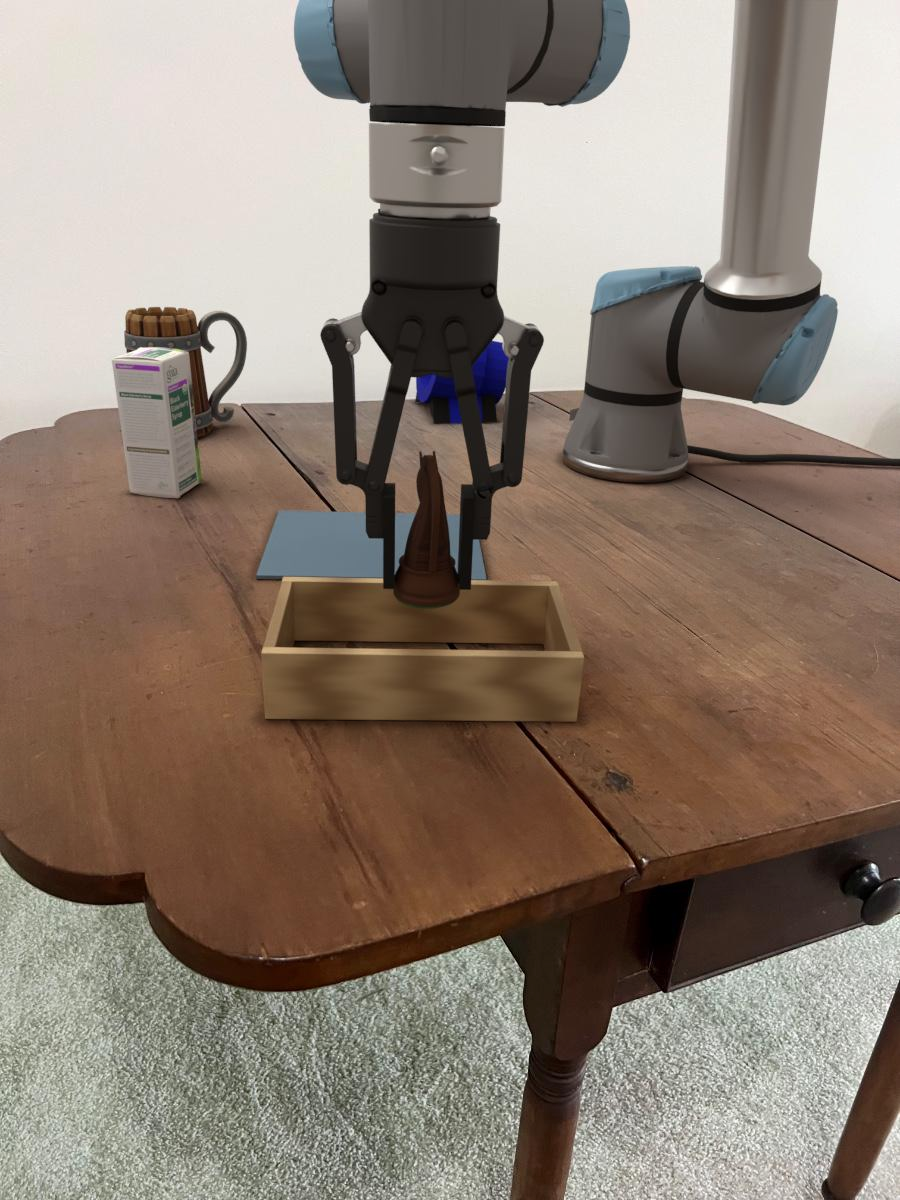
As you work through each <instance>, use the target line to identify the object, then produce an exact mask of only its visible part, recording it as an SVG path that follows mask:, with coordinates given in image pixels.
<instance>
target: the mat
mask: <svg viewBox="0 0 900 1200" xmlns="http://www.w3.org/2000/svg"><path fill="white" fill-rule="evenodd" d="M415 515H416V512H415V513H413V512H395V574H396V571H397V569H398V567H399V558H400V557H401V556H402V555H404V553H405V547H406V542H407V538H408V534H409V531H410V528H411V525H412V522H413V520H414V517H415ZM446 515H447V521H448V528H449V538H450V555H451V556H452V557H453V558H454V559H455V569H456V571H457V573H458V551H459V525H460V513H458V514H455V513H446ZM263 551H264V552H263V553H262V557H261V561H260V562H259V566H258V568H257V570H256V571H257V572H256V574H255V579H256V580H278V581H279V580H281V581H282V579H283V577H328V578H383V539H379V538H368V535H367V533H366V511H365V512H363V511H325V510H324V511H323V510H322V511H321V510H319V511H318V510H283V509H282V510H280V509H279V510H278V511H277V515H276V518H275V521H274V523H273V526H272V529H271V532H270V534H269V537H268V540H267V542H266V546H265V548H264V550H263ZM471 580H488V579H487V575H486V569H485V564H484V559H483V554H482V548H481V543H480V540H473V554H472V575H471Z"/></svg>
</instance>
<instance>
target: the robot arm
mask: <svg viewBox="0 0 900 1200" xmlns="http://www.w3.org/2000/svg"><path fill="white" fill-rule="evenodd" d="M838 4H839V0H734V10H733V11H734V13H733V28H732V29H733V31H732V46H731V47H732V48H731V65H730V83H729V97H728V98H729V101H728V115H727V133H726V134H727V135H726V151H725V167H724V168H725V169H724V183H723V184H724V187H723V202H722V203H723V205H722V219H721V220H722V221H721V222H722V223H721V239H720V253H719V254H720V255H719V260H718V261H717V262H716V263H714V264H713V265H712V266H711V267H710V268H709V269H708V270H707V271H706V272H705V274H704V277H703V275H702V270H701V268H700V267H699V266H692V265H691V266H688V265H687V266H686V265H685V266H682V265H681V266H658V267H656V266H655V267H642V268H629V269H619V270H618V269H617V270H612V271H608V272H605V273H604V274H603V275H601V276H600V277H599V278H598V280H597V282H596V285H595V289H594V295H593V299H592V300H593V301H592V305H591V309H590V312H589V314H590V315H591V316H590V328H589V337H588V346H587V356H586V366H585V367H586V368H585V377H584V378H585V379H584V389H583V396H582V400H581V402H580V405H579V407H577V408H573V409H570V410H569V419H568V422H571V421H572V423H571V425H570V427H569V430H568V433H567V435H566V437H565V439H564V443H563V446H562V457H561V458H562V459H561V460H562V461H563V463H564V464H565V465H566V466H567V467H569V468H570V469H572V470H574V471H576V472H579V473H581V474H585V475H587V476H591V477H595V478H599V479H603V480H610V481H615V482H616V481H617V482H625V483H626V482H627V483H658V482H665V481H670V480H671V481H672V480H674V479H678V478H679V477H681V476H683V475H685V474H686V472H687V469H688V465H689V455H691V454H692V455H696V456H702V457H709V458H715V459H718V460H724V461H728V462H733V463H734V462H736V463H747V464H748V463H753V464H757V463H812V464H814V463H815V464H831V465H832V464H833V465H849V466H851V465H852V466H874V467H900V458H892V457H891V458H890V457H889V458H887V457H864V456H862V457H861V456H841V455H825V454H805V453H771V454H769V453H768V454H741V453H732V452H728V451H722V450H718V449H713V448H707V447H701V446H695V445H689V444H688V442H687V436H686V431H685V425H684V419H683V413H682V399H683V393H684V390H687V391H688V390H689V391H692V392H693V391H694V392H699V393H704V394H710V395H714V396H715V395H716V396H720V397H724V398H725V397H726V398H731V399H736V400H742V401H746V402H751V404H754V405H757V404H759V403H760V404H766V405H767V404H768V405H776V406H783V407H784V406H790V405H792V404H795V403H796V402H798V401H799V400H800V399H802V397H803V396H804V395H805V394H806V393H807V391H809V389H810V387H811V386H812V384H813V382H814V381H815V379H816V377H817V376H818V374H819V371H820V369H821V367H822V365H823V363H824V360H825V359H826V355H827V353H828V350H829V348H830V345H831V342H832V339H833V337H834V333H835V329H836V324H837V320H838V315H839V314H838V313H839V310H838V301H837V299H836V298H835V297H832V296H830V295H829V294H827V293H825V294H822V295H821V287H822V278H823V272H822V270H821V269H820V267H819V266H818V265H817V263H815V262H814V261H813V260H812V259H810V256H809V254H810V245H811V237H812V230H813V229H812V228H813V219H814V210H815V203H816V193H817V186H818V177H819V176H818V175H819V168H820V159H821V150H822V141H823V133H824V126H825V125H824V124H825V115H826V107H827V101H828V100H827V99H828V91H829V81H830V73H831V64H832V57H833V47H834V39H835V29H836V21H837V14H838V13H837V12H838V6H839V5H838ZM630 20H631V19H630V13H629V8H628V5H627V2H626V0H298V3H297V5H296V9H295V13H294V21H293V41H294V46H295V50H296V53H297V56H298V57H297V58H298V61H299V63H300V66H301V70H302V72H303V74H304V75H305V77H306V79H307V80H308V82H309V83H310V84H311V86H313V88H314V89H315V90H317V91H318V93H320V94H322V95H324V96H326V97H328V98H331V99H334V100H343V101H345V100H346V101H355V102H357V103H359V104H360V105H363V104H364V105H365V104H369V108H368V114H369V115H368V116H369V122H368V162H369V163H368V183H369V184H368V185H369V186H368V187H369V190H368V191H369V193H368V195H369V198H370V199H371V200H372V202H373V203H376V204H379V208H378V209H377V212H375V213H373V214H372V218H370V219H369V221H368V222H369V225H368V226H369V228H368V229H369V230H368V231H369V235H368V237H369V291H368V294H367V297H366V299H365V300H364V302H363V305H362V308H361V311H360V312H357V313H353V314H351V315H349V316H346V317H343V318H340V319H338V318H334V317H333V318H329V319H327V320H326V321H325V322H324V324H323V326H322V328H321V330H320V335H319V336H320V340H321V343H322V345H323V347H324V350H325V352H326V355H327V357H328V358H327V359H328V360H329V363H330V365H331V377H332V400H333V401H332V402H333V424H334V428H333V429H334V445H335V446H334V449H335V450H334V451H335V471H336V472H335V473H336V479H337V481H338V482H339V483H340V484H341V485H345V486H349V485H351V486H354V487H357V488H358V489H360V490H362V492H363V493H364V499H365V503H364V504H365V512H366V533H367V535H368V538H379V539H383V589H394V586H395V513H396V482H386V481H387V476H388V472H389V468H390V463H391V460H392V456H393V453H394V448H395V443H396V439H397V435H398V431H399V428H400V423H401V419H402V414H403V410H404V406H405V402H406V398H407V394H408V390H409V388H410V383H411V380H412V378H416V377H423V376H427V375H431V374H433V375H436V376H440V377H443V378H453V380H454V385H455V390H456V395H457V400H458V406H459V411H460V416H461V421H462V423H461V426H462V432H463V436H464V441H465V446H466V451H467V457H468V462H469V468H470V473H471V479H472V483H471V484H469V483H468V484H467V483H460V501H459V502H460V503H459V514H460V525H459V551H458V576H459V588H460V590H471V575H472V554H473V540H479V541H481V540H483V541H487V540H488V538H489V536H490V534H491V523H492V505H493V497H494V495H495V493H496V492H497V491H499V490H501V489H505V488H507V487H509V488H517V487H518V486H519V485H520V484H521V482H522V480H523V471H524V470H523V469H524V458H525V457H524V456H525V449H526V447H525V446H526V437H527V436H526V435H527V424H528V412H529V401H530V389H531V379H532V370H533V368H534V365H535V363H536V361H537V359H538V357H539V354H540V352H541V350H542V348H543V346H544V342H545V339H544V338H545V337H544V335H543V333H542V332H541V330H539V328H538V326H536V325H535V324H534V323H522V322H520V321H517V320H515V319H513V318H510V317H508V316H506V315H505V313H504V310H503V307H502V305H501V303H500V300H499V297H498V278H499V276H498V275H499V257H500V239H501V223H500V222H498V218H497V217H495V216H491V211H492V210H491V208H494V207H498V206H499V205H500V203H502V199H503V198H502V197H503V173H504V155H505V149H504V148H505V133H506V131H505V130H506V129H505V127H506V119H507V118H506V117H507V115H506V114H507V111H506V110H507V109H506V108H507V103H538V104H543V105H544V106H547V107H554V106H559V107H561V108H564V107H567V106H570V105H580V104H584V103H587V102H590V101H592V100H594V99H595V98H597V97H599V96H600V95H601V94H603V93H604V92H605V91H606V90H607V89H608V88H609V87H610V86H611V85H612V84H613V82H614V81H615V80H616V78H617V76H618V75H619V74H620V71H621V70H622V68H623V65H624V62H625V60H626V57H627V54H628V51H629V44H630V41H631V21H630ZM702 279H703V281H702ZM366 331H367V332H368V333H369V335H370V336H371V338H372V339H373V340H374V342H375V344H376V345H377V347H378V348H379V349H380V351H381V352H382V353H383V355H384V356H385V358H386V359H387V361H388V362H389V363H390V368H389V371H388V377H387V382H386V387H385V391H384V395H383V398H382V404H381V408H380V413H379V417H378V421H377V425H376V430H375V434H374V437H373V438H374V439H373V443H372V446H371V451H370V456H369V459H368V463H366V462H362V461H361V460H358V443H357V442H358V440H357V438H358V437H357V409H356V407H357V406H356V376H355V375H356V374H355V359H354V355H356V354H357V353H359V351H360V349H361V344H362V340H361V337H362V334H363V333H364V332H366ZM498 335H500V336H501V337H502V343H503V344H502V348H503V351H504V353H505V355H506V356H507V357H508V358H509V360H508V365H507V375H506V388H505V391H504V401H503V402H504V403H503V416H502V431H501V443H500V454H499V455H500V457H499V462H498V463H495V464H491V465H490V462H489V461H490V460H489V456H488V450H487V445H486V440H485V433H484V427H483V423H482V422H481V416H480V411H479V405H478V400H477V394H476V388H475V382H474V376H473V371H472V366H473V365H474V364H475V362H476V361H477V360H478V358H479V357H480V356H481V354H482V353H483V352H484V351H485V349H486V348H487V347H488V345H489V344H490V343H491V342H492V341H494V339H495V338H496V336H498Z"/></svg>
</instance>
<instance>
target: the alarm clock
mask: <svg viewBox="0 0 900 1200" xmlns="http://www.w3.org/2000/svg"><path fill="white" fill-rule="evenodd" d="M502 344H503V341H496V340H492V342H491V343H490V344H489V345H488V347H487V348H486V349H485V351H484V352H483V353H482V354H481V356H480V357H479V358H478V360H477V361H476V362H475V364H474V365H473V366H472V371H473V376H474V382H475V388H476V394H477V400H478V405H479V411H480V416H481V422H482V424H483V423H498V416H497V404H499V402H500V401H501V400H502V398H503V395H504V394H505V389H506V375H507V365H508V360H509V358H508V357H507V356H506V355H505V353H504V351H503V348H502ZM415 389H416V395H415V403H424V404H428V408H429V410H430V414H431V418H432V422H433V424H434V425H436V424H437V425H438V424H439V425H440V424H441V425H442V424H462V421H461V416H460V411H459V406H458V400H457V395H456V390H455V385H454V380H453V378H443V377H440V376H436V375H433V374H431V375H427V376H423V377H415Z"/></svg>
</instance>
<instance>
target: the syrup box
mask: <svg viewBox="0 0 900 1200" xmlns="http://www.w3.org/2000/svg"><path fill="white" fill-rule="evenodd" d="M111 364H112V365H111V366H112V372H113V373H112V374H113V379H114V387H115V394H116V401H117V409H118V416H119V417H118V418H119V425H120V433H121V439H122V444H123V451H124V461H125V467H126V468H125V469H126V474H127V483H128V489H129V492H130V493H131V494H135V495H140V496H147V497H156V498H157V497H158V498H166V499H179V498H181V496H183V495H184V494H185V493H187V492H188V491H190V490H191V489H193V488H194V487H196V486H198V485H200V484H201V483H202V481H203V478H202V477H203V476H202V469H201V460H200V448H199V438H197V428H196V418H195V408H194V398H193V388H192V378H191V368H190V358H189V352H188V351H185V350H179V349H173V348H162V347H148V348H142V347H140V348H138V349H137V350H135V351H132V352H129V353H127V352H126V353H124V354H122V355H117V356H114V357H113V358H111Z"/></svg>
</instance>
